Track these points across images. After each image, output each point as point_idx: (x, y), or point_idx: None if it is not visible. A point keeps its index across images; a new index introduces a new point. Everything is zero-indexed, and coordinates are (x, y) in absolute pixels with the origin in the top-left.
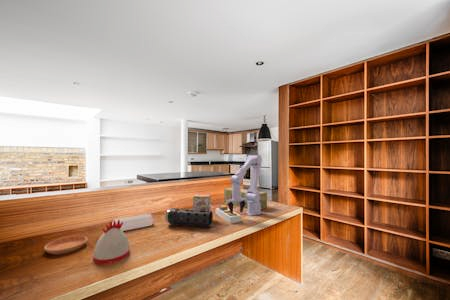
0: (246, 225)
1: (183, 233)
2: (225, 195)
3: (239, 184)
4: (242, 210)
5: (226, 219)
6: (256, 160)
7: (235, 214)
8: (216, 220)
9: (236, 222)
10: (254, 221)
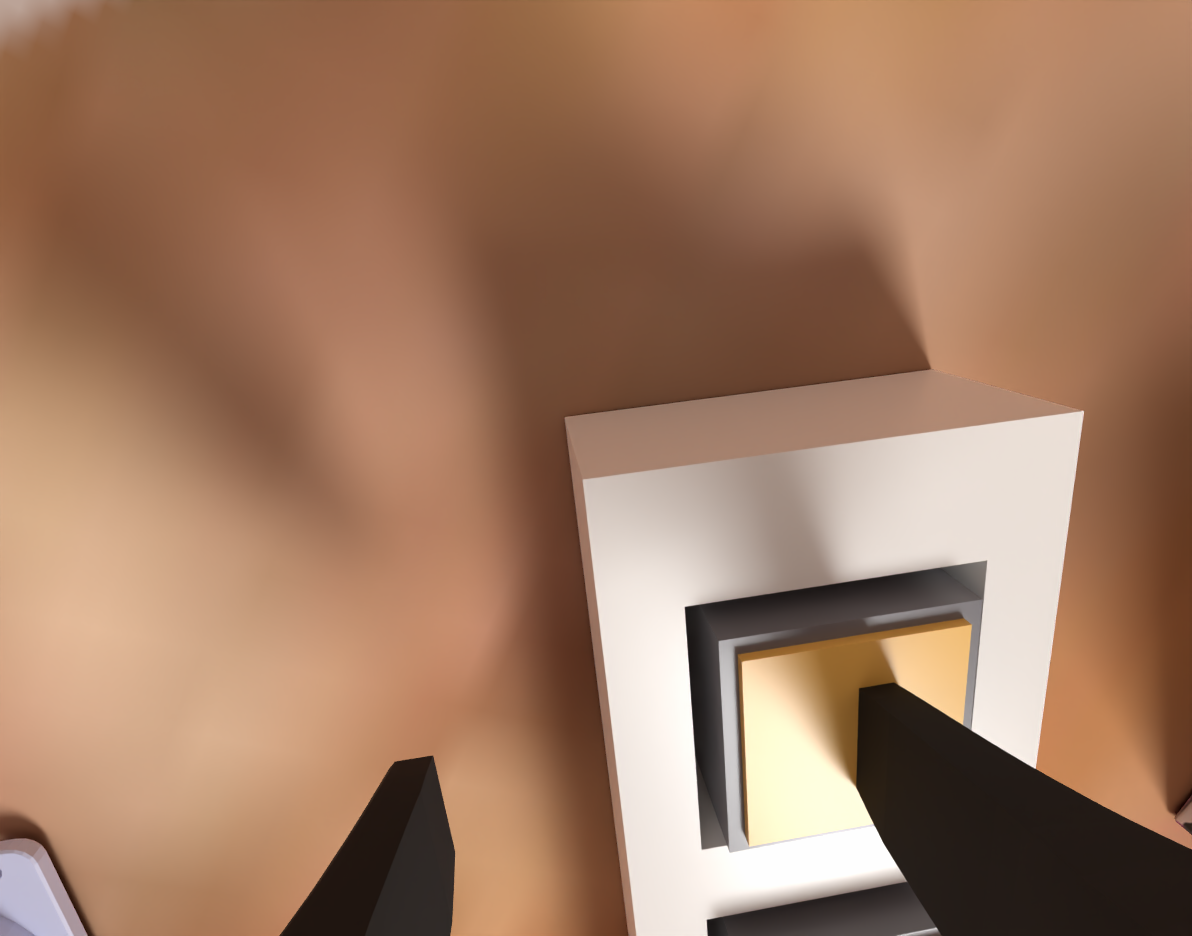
0: (527, 2)
1: None
2: None
3: None
4: (378, 820)
5: None
6: None
7: (761, 630)
8: (1107, 691)
9: (722, 397)
10: (79, 302)
